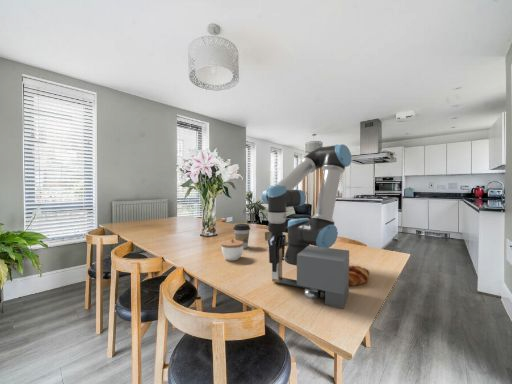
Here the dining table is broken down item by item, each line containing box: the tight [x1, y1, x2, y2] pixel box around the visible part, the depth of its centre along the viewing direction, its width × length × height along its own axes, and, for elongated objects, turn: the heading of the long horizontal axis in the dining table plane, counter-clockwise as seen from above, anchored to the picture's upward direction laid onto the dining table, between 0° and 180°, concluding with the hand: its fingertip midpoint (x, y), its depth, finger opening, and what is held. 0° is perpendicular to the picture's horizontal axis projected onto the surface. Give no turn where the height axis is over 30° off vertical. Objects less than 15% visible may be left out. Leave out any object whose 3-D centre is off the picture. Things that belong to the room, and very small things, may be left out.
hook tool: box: [271, 247, 325, 299], centre depth 92 cm, size 22×8×14 cm, turn 62°
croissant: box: [349, 265, 370, 287], centre depth 101 cm, size 21×10×8 cm, turn 129°
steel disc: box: [304, 288, 319, 300], centre depth 87 cm, size 5×5×2 cm
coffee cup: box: [233, 223, 251, 250], centre depth 156 cm, size 11×11×15 cm
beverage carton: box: [264, 231, 287, 245], centre depth 171 cm, size 8×19×7 cm, turn 24°
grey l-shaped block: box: [296, 245, 350, 310], centre depth 88 cm, size 17×15×16 cm
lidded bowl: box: [220, 238, 244, 261], centre depth 132 cm, size 13×13×11 cm
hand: (277, 276), depth 99 cm, fingers closed on hook tool, 3 cm apart
